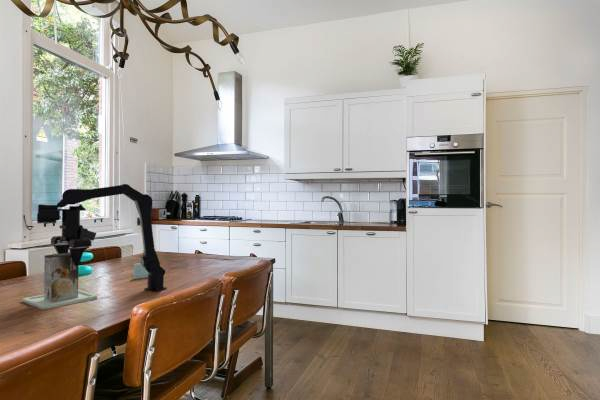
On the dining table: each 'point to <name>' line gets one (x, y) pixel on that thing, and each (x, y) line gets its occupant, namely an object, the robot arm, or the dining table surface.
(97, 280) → the dining table surface
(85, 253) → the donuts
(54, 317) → the dining table surface
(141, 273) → the right angle wall
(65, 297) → the coffee box
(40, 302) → the sage tray
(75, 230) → the robot arm
